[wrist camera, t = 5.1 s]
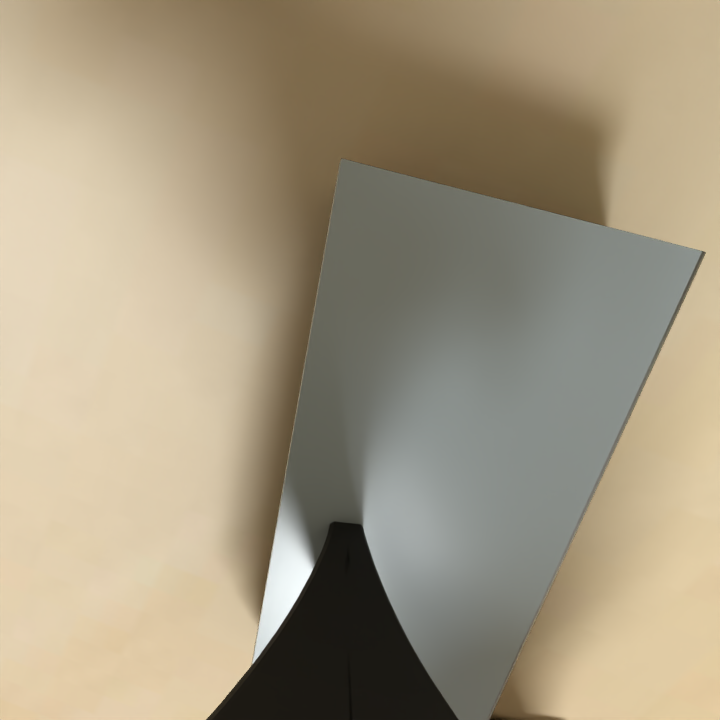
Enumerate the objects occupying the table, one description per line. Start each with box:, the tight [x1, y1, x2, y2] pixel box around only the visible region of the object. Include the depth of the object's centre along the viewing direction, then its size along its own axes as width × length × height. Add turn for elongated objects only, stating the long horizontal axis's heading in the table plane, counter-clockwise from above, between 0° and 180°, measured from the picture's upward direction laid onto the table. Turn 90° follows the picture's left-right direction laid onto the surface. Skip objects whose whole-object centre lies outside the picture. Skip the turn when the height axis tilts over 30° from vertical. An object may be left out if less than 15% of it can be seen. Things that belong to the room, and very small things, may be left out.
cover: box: [251, 158, 706, 720], centre depth 12 cm, size 20×9×1 cm, turn 168°
